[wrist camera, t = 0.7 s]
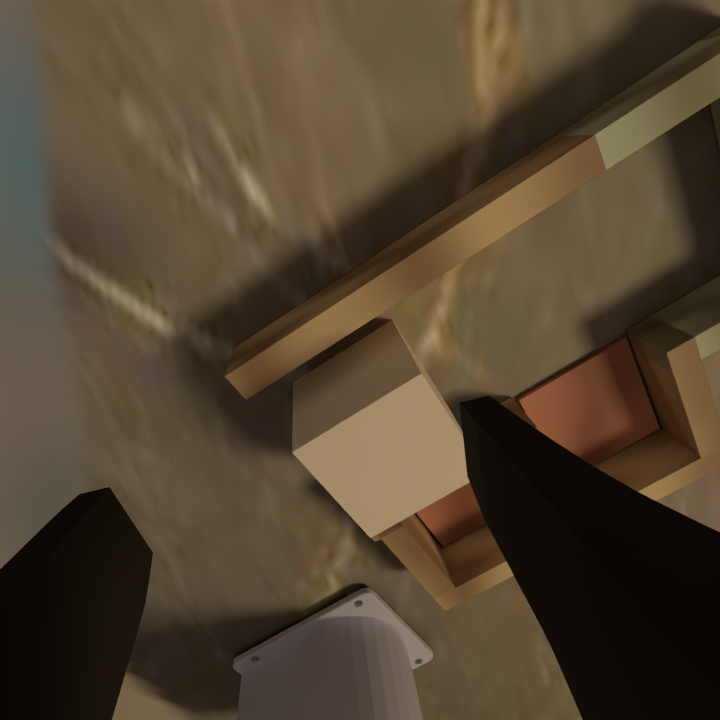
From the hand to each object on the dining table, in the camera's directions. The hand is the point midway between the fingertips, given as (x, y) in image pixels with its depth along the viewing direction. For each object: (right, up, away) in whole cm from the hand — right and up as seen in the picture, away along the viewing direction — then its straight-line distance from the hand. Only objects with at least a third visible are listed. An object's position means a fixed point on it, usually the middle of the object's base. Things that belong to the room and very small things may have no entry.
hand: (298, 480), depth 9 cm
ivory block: (+2, +1, +11) cm, 11 cm away
